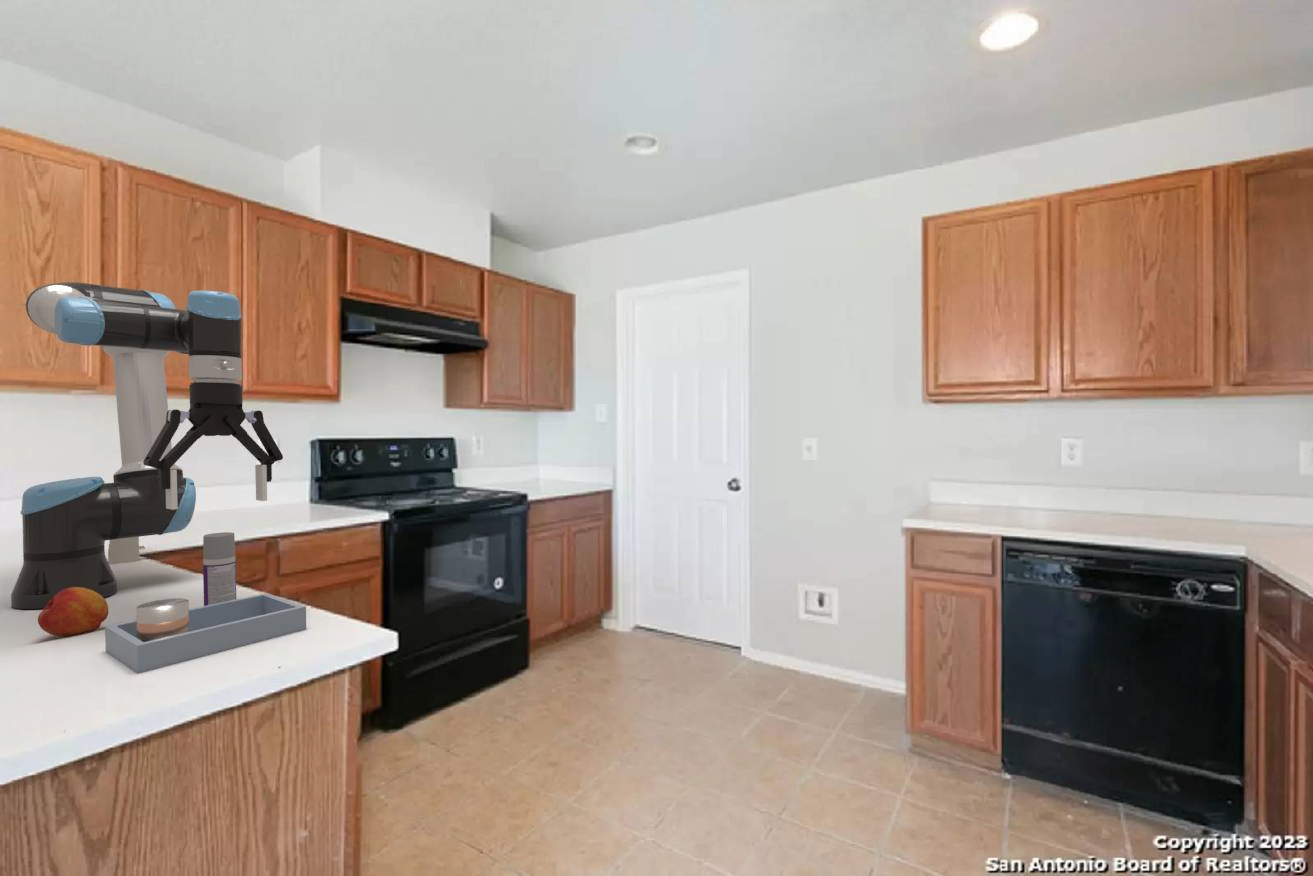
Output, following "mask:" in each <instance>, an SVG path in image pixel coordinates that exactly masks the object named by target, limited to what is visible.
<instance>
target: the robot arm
mask: <svg viewBox="0 0 1313 876" xmlns="http://www.w3.org/2000/svg"><path fill="white" fill-rule="evenodd" d="M25 311H26V314H27V316H28V319H29V320H30V321H31V322H32V323H33V324H34V325H35V326H37V327H39V328H40V329H42V330H44V331H46V332H48V333H51V334H54V335H56V336H57V338H58V339H59V340H60V341H61V342H63V343H69V344H76V345H81V346H86V347H88V346H89V347H90V346H99V347H102V350H103V352H105V354H107V355H109V356H110V357H112V362H113V373H114V375H113V376H114V385H115V388H114V389H115V397H116V398H115V399H116V409H117V410H116V411H117V421H118V433H119V446H120V458H121V467H120V468H119V469H118V470H117V471H115V473H114V474H113V476H112V478H113V482H109V483H107V482H106V483H105V480H104V479H103V477H101V476H87V477H79V478H78V477H77V478H70V479H64V480H63V479H62V480H61V479H60V480H55V481H52V482H51V481H50V482H49V481H48V482H46V483H40V484H36V485H33V486H31V487H28V488H27V489H25V491H24V492H23V493H22V498H21V499H22V501H21V510H20V515H22V516H21V517H22V553H23V555H22V556H23V557H22V558H23V562H22V563H23V564H22V567H21V569H20V571H19V574H18V577H17V580H16V582H15V584H14V586H13V589H12V592H11V595H10V605H11V607H12V608H14V609H20V610H39V609H44V608H45V606H46V605H47V603H48V602H49V601H50V600H51V599H52V598H53V597H54V596H55V595H56V594H57V593H59V592H60V591H61V590H63V589H66V588H71V587H82V588H87V589H90V590H93V591H95V592H97V593H98V594H100V595H101V596H102V597H103V598H104V599H105V598H108V597H109V596H113V595H115V594H116V593H117V592H118V583H117V582H118V581H117V578H116V576H115V574H114V572H113V570H112V567H111V565H109V563H108V558H107V557H106V552H105V551H106V549H105V543H106V542H105V541H110V540H113V539H122V538H131V537H147V536H156V535H157V536H161V535H165V534H170V533H177V532H181V531H183V530H184V529H186V528H187V527H188V526H189V524H190V522H191V521H192V519H193V516H194V512H195V509H196V501H197V489H196V486H195V482H194V480H193V479H192V478H190V477H189V478H188V477H184V472H183V468H181V467H180V466H178V465H177V464H176V462H178V461H179V460H180V458H182V457H183V455H184V454H185V453H186V452H187V451H188V450H189V449H190V448H191V447H192V446H193V445H194V444H195V442H196V441H198V440H199V439H200V438H201V437H202V436H204V437H215V436H222V437H229V436H232V437H233V438H235V439H236V440H237V441H238V442H239V443H241V445H242V446H243V447H245V449H246V450H247V451H248V452H249V453H250V454H251V455H252V456H253V457H254V458H255V460H257V461H258V462H259V463H260V464H255V466H254V467H255V470H254V471H255V501H260V502H265V501H268V482H270V483H271V482H272V479H273V474H272V473H273V471H272V470H273V469H272V467H273V466H272V465H273V464H275V463H277V462H278V461H282V460H283V459H284V455H283V454H282V452H281V450H280V449H279V446H278V445H277V443H276V441H275V440H274V438H273V437H272V436H273V435H272V434H271V433H270V431H269V429H268V427H267V425H266V423H265V421H264V414H263V411H261V410H251V411H247V412H246V411H244V409H243V386H242V385H241V384H239V382H241V381H242V380H243V375H242V372H243V371H242V365H243V364H242V318H243V315H242V312H241V305H240V300H239V297H237V296H236V295H234V294H231V293H227V292H224V291H223V292H222V291H216V290H194V291H191V292H189V293H188V295H187V300H186V306H185V309H178V308H176V306H175V304H174V302H173V301H172V300H171V299H170V298H169V297H168V296H166V295H164V294H162V293H158V292H152V291H148V290H146V289H140V290H139V289H132V288H125V287H117V286H109V285H103V284H102V285H101V284H93V283H88V282H87V283H86V282H80V281H79V282H78V281H77V282H75V281H74V282H72V281H70V282H69V281H66V282H65V281H62V282H55V283H49V284H46V285H42V286H40V287H39V286H38V287H37V288H35V289H34V290H33V291H32V292H31V293H29V295H28V296H27V298H26V302H25ZM171 352H176V353H179V354H183V355H188V379H190V380H191V381H193V382H190V384H189V385H188V386H189V388H188V389H189V410H188V411H185V410H182V411H181V410H179V409H169V403H168V402H169V401H168V393H167V391H168V390H167V382H166V371H165V370H166V369H165V360H164V359H165V357H166V356H168V355H169V354H170V353H171ZM186 419H187V420H188V421H189V422H190V423H191V425H192V426H191V428H190V429H189V430H188V431H187V432H186V433H185V435H184V436H183V437H182V438H181V439H180V440H179V441H178V442H177V443H175V445H174V446H173V447H172V439H173V438H174V436H175V434H176V432H177V430H178V428H179V426H180V424H183V423H184V422H185V420H186ZM245 420H247V422H248V423H249V424H251V427H252V429H253V430H254V432H255V433H256V436H257V438H258V439H259V440H260V443H261V444H262V446H263V447H264V449H263V448H262V447H261V446H260V445H259V443H257V442H256V441H255V440H254V439H253V438H252V437H251V436H250V435H249V434H248V432H247V430H245V428H244V427H243V426H242V424H243V422H244V421H245Z"/></svg>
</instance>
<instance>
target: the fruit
mask: <svg viewBox="0 0 1313 876" xmlns="http://www.w3.org/2000/svg"><path fill="white" fill-rule="evenodd" d="M108 615H109V605H108V603H107V600H106V599H105V598H103V597H102V596H101V595H100V594H98V593H97V592H95V591H93V590H90V589H87V588H82V587H71V588H66V589H63V590H61V591H60V592H59V593H57V594H56V595H55V596H54V597H53V598H52V599H51V600H50V601H49V602H48V603H47V605H46V606H45V608H43V610H42V611H41V612H40V613H39V614H38V616H37V623H38V625H39V627H40V628H41V630H43V631H44V632H45V633H47V634H49V635H51V636H55V637H62V638H63V637H65V638H71V637H75V636H80V635H85V634H89V633H93V632H95V631H96V630H97V629H99V628H100V627H101V625H102V623H103V622H105V620H107V618H108Z"/></svg>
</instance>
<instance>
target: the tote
mask: <svg viewBox="0 0 1313 876" xmlns="http://www.w3.org/2000/svg"><path fill="white" fill-rule="evenodd" d="M305 630H307V606H306V605H302V604H300V603H297V602H294V601H291V600H289V599H286V598H283V597H279V596H276V595H273V594H270V593H267V592H266V593H259V594H256V595H250V596H246V597H241V598H236V600H231V601H226V602H221V603H216V604H212V605H207V606H204V605H202V606H198V607H193V608H189V632H186V633H182V634H178V635H173V636H169V637H165V638H160V639H156V640H152V641H147V642H143V641H141V640H139V639H137V619H136V620H135V619H134V620H129V621H125V622H120V623H115V624H111V625H107V626H106V625H105V627H104V631H105V633H104V635H105V638H104V639H105V653H107V654H108V655H110V656H111V657H112V658H114V659H115V660H117V661H119V662H120V663H121V664H123V665H124V666H126V667H128V668H129V669H130V670H132V671H133V672H135V673H136V674H141V673H146V672H149V671H152V670H153V671H154V670H156V669H160V668H164V667H168V666H172V665H175V664H180V663H184V662H188V661H190V660H194V659H195V660H196V659H198V658H203V657H206V656H210V655H214V654H218V653H221V652H226V651H230V650H232V649H233V650H234V649H237V648H240V647H245V646H248V645H249V646H250V645H252V644H255V643H261V642H263V641H268V640H271V639H274V638H279V637H283V636H286V635H290V634H294V633H297V632H301V631H305Z"/></svg>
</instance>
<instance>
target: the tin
mask: <svg viewBox="0 0 1313 876" xmlns="http://www.w3.org/2000/svg"><path fill="white" fill-rule="evenodd" d="M189 606H190V605H189V599H187V598H179V597H176V598H165V599H158V600H153V601H149V602H145V603H142V604H140V605H137V606H136V620H137V639H139V640H141V641H143V642H147V641H152V640H156V639H160V638H165V637H169V636H173V635H178V634H182V633H186V632H189V609H190V608H189Z"/></svg>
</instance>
